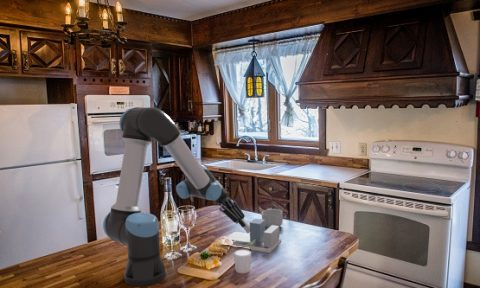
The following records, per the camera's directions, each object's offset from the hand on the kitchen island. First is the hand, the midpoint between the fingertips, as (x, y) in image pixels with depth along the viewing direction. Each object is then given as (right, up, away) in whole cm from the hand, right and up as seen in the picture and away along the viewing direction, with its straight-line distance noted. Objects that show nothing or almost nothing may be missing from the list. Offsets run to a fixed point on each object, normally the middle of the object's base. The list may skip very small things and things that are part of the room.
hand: (250, 231), depth 169 cm
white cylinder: (-4, -9, -26) cm, 28 cm away
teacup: (+12, -3, +23) cm, 26 cm away
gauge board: (0, -6, 0) cm, 6 cm away
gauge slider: (+2, -4, -3) cm, 6 cm away
